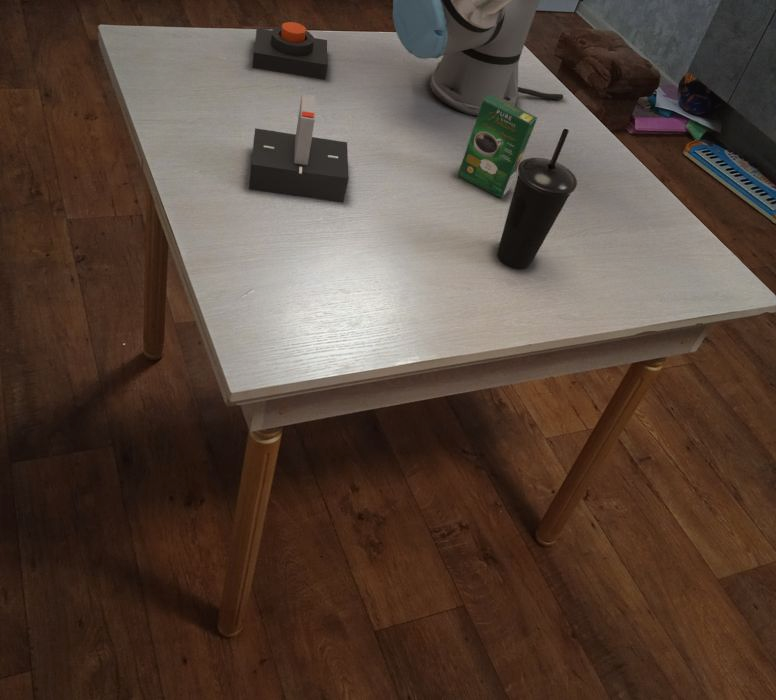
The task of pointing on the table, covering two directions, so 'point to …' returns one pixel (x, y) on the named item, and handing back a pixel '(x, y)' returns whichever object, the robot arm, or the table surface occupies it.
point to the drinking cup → (534, 207)
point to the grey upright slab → (304, 129)
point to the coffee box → (496, 145)
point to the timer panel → (299, 167)
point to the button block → (290, 54)
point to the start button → (293, 32)
